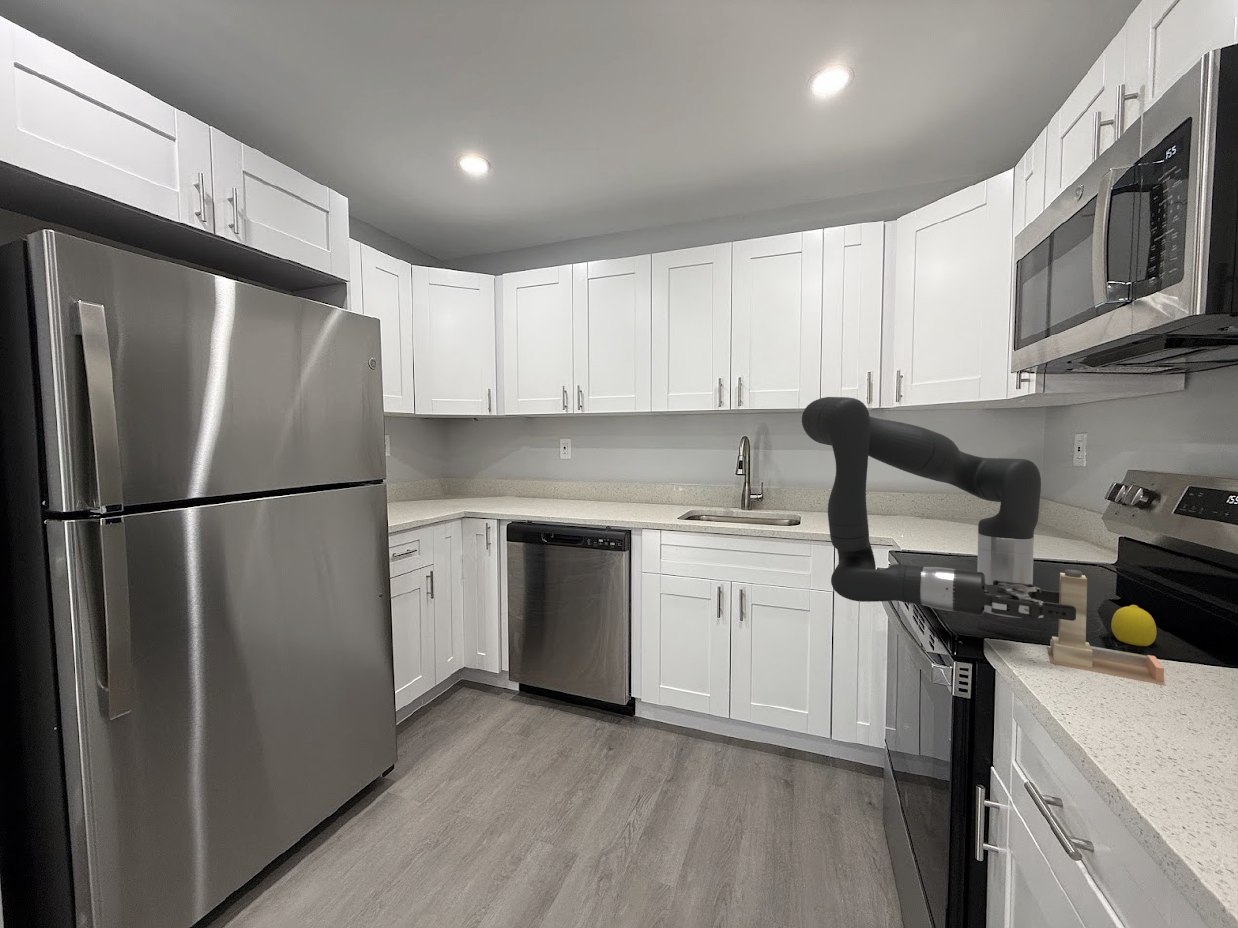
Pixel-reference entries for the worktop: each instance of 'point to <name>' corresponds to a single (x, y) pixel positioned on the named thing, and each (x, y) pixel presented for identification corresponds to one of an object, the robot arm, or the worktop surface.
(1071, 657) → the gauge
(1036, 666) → the worktop surface
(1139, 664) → the straightedge
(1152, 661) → the end stop
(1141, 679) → the board
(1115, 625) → the lemon
